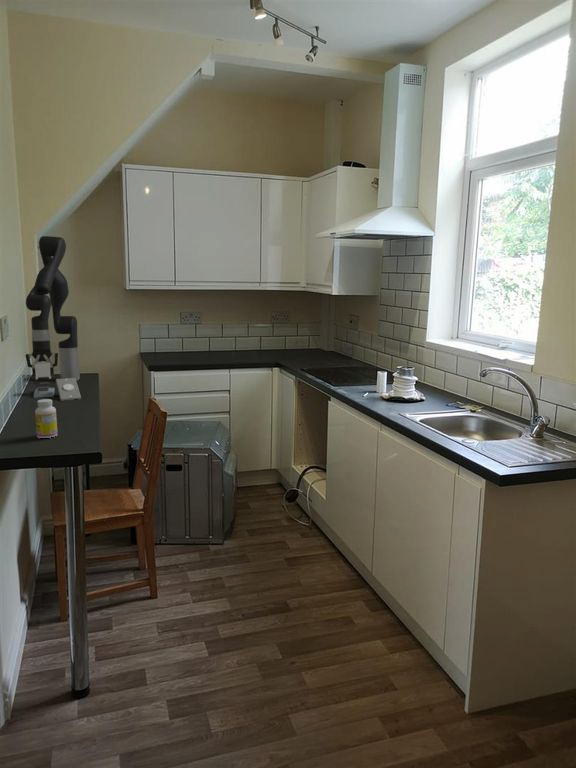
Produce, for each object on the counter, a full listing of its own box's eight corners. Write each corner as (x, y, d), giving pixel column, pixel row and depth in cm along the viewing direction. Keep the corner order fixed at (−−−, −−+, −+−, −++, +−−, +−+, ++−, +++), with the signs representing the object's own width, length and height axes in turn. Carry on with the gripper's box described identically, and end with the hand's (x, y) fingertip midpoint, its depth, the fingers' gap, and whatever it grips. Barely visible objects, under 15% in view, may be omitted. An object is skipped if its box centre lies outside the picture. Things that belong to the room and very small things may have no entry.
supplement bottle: (36, 435, 206) (34, 399, 204) (57, 433, 209) (54, 397, 207) (37, 440, 200) (34, 403, 198) (58, 438, 203) (55, 401, 201)
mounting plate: (36, 391, 280) (36, 388, 279) (54, 390, 282) (54, 387, 282) (33, 397, 267) (33, 394, 266) (53, 396, 269) (52, 393, 269)
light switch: (60, 397, 259) (55, 377, 269) (60, 407, 263) (55, 387, 273) (81, 395, 263) (75, 375, 273) (80, 406, 267) (75, 385, 277)
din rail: (40, 388, 280) (39, 382, 279) (50, 387, 281) (49, 382, 281) (38, 394, 267) (37, 388, 267) (48, 393, 268) (48, 387, 268)
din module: (36, 377, 274) (35, 362, 273) (51, 377, 276) (50, 361, 275) (35, 379, 270) (34, 363, 268) (50, 378, 271) (49, 363, 270)
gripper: (58, 338, 275) (60, 374, 278) (24, 339, 271) (27, 375, 274) (57, 339, 268) (59, 376, 271) (22, 340, 264) (25, 377, 267)
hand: (43, 375), depth 273 cm, fingers closed on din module, 6 cm apart
